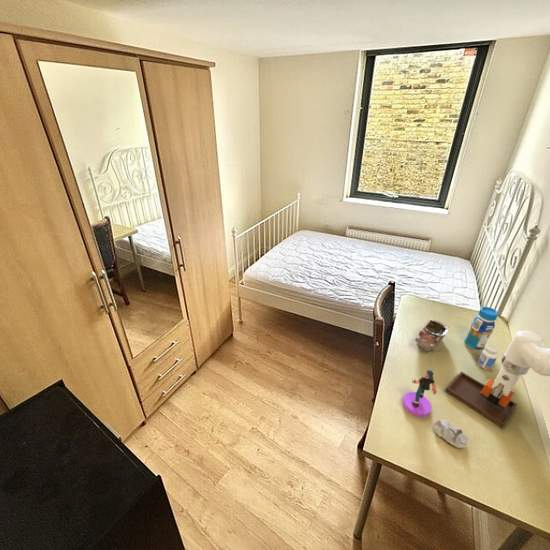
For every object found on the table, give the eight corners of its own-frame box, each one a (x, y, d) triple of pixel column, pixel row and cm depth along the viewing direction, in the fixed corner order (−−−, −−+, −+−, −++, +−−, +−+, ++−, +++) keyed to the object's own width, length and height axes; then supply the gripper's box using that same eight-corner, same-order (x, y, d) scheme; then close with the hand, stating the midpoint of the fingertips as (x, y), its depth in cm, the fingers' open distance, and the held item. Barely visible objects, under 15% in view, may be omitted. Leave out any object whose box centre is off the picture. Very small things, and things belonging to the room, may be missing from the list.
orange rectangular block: (508, 402, 107) (514, 392, 104) (504, 409, 105) (510, 399, 102) (484, 388, 112) (489, 378, 110) (479, 394, 110) (485, 384, 107)
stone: (468, 437, 98) (470, 432, 97) (462, 454, 93) (465, 449, 92) (437, 419, 104) (439, 415, 102) (431, 434, 99) (433, 429, 97)
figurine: (423, 395, 112) (437, 361, 103) (434, 417, 104) (450, 383, 95) (399, 394, 112) (410, 361, 104) (408, 416, 104) (421, 382, 95)
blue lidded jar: (462, 337, 142) (477, 303, 133) (482, 342, 139) (499, 308, 130) (464, 347, 136) (479, 313, 126) (485, 353, 133) (502, 318, 123)
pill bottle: (492, 365, 127) (501, 348, 122) (490, 372, 123) (499, 355, 118) (478, 358, 130) (486, 342, 125) (475, 365, 126) (483, 348, 122)
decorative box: (455, 345, 137) (462, 329, 132) (434, 364, 126) (441, 347, 122) (428, 330, 146) (433, 315, 141) (406, 347, 135) (411, 331, 131)
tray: (515, 407, 108) (517, 404, 107) (502, 428, 101) (504, 425, 100) (459, 374, 122) (461, 371, 121) (444, 391, 114) (446, 388, 113)
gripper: (520, 383, 92) (497, 418, 101) (535, 358, 101) (513, 393, 110) (493, 368, 97) (474, 403, 106) (510, 346, 106) (491, 380, 116)
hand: (494, 398), depth 108 cm, fingers closed on orange rectangular block, 4 cm apart
